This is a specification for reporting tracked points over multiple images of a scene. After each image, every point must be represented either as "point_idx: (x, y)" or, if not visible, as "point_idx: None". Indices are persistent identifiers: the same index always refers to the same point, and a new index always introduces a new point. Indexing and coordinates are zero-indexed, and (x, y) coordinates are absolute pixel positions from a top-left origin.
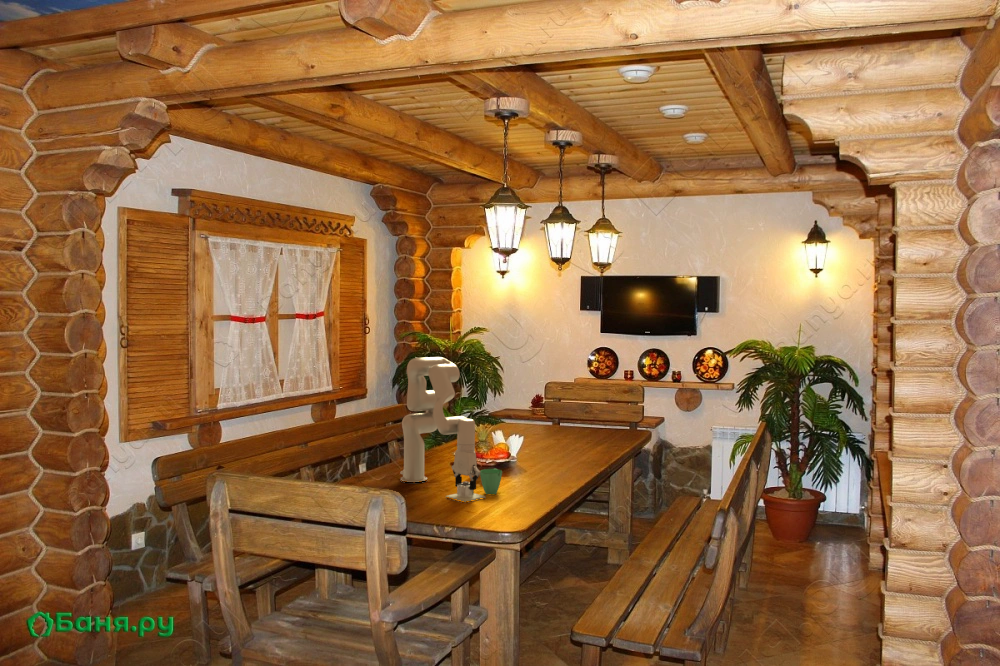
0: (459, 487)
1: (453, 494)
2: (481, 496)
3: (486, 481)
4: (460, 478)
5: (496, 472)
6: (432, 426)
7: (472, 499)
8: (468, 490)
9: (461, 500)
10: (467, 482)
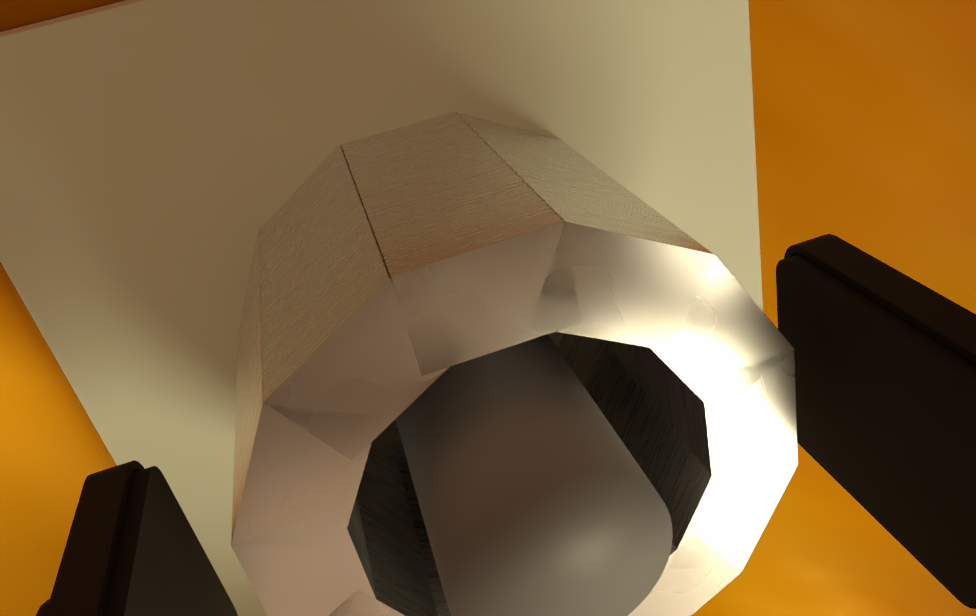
0: (468, 216)
1: (734, 123)
2: (236, 596)
3: None
4: (944, 536)
5: None
6: None
7: (49, 343)
8: (240, 419)
9: (58, 19)
10: (480, 604)
